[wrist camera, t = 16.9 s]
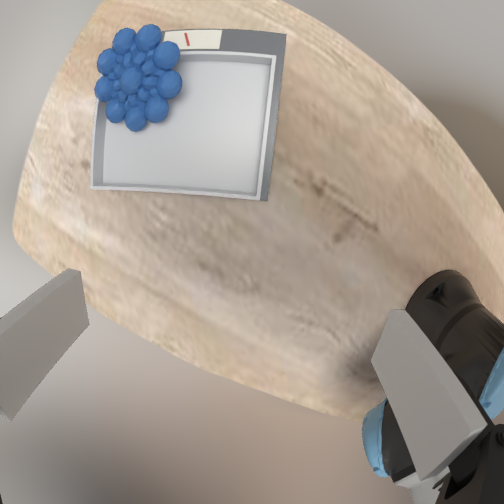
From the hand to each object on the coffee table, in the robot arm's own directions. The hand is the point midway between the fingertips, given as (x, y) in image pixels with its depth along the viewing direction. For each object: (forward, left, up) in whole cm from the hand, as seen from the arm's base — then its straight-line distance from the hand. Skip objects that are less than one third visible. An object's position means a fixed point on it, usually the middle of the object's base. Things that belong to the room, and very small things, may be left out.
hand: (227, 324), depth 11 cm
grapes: (+10, -9, -22) cm, 25 cm away
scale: (+9, -11, -26) cm, 30 cm away
